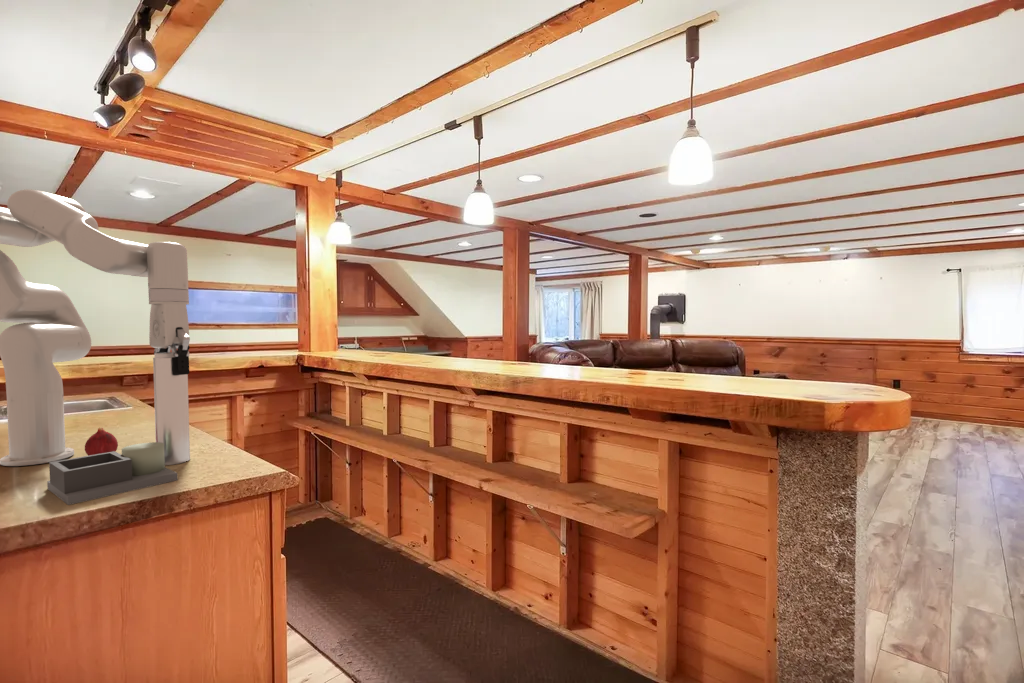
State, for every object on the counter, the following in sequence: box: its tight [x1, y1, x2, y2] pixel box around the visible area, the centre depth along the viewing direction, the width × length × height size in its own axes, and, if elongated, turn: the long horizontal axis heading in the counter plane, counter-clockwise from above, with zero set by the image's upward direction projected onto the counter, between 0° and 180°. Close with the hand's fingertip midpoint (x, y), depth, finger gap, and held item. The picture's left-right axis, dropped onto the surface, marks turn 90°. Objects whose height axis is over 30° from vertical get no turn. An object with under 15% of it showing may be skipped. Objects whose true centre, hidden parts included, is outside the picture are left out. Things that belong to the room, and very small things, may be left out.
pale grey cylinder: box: [152, 351, 191, 466], centre depth 115 cm, size 6×6×25 cm
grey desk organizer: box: [46, 441, 178, 506], centre depth 99 cm, size 14×17×6 cm
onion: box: [84, 426, 119, 456], centre depth 114 cm, size 6×6×8 cm
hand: (172, 373), depth 115 cm, fingers open, 9 cm apart
